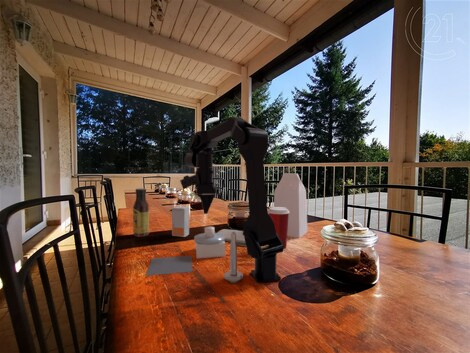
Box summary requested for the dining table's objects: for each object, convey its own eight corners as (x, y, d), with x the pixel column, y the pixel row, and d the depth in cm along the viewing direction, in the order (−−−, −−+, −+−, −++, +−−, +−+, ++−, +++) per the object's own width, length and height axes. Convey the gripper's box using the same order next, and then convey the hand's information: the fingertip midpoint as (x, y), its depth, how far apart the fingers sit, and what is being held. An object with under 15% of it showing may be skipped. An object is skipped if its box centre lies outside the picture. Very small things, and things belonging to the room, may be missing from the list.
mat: (192, 274, 67) (192, 271, 67) (145, 278, 64) (145, 275, 64) (191, 258, 78) (191, 255, 78) (152, 261, 76) (152, 258, 76)
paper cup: (288, 243, 93) (288, 206, 92) (290, 250, 85) (290, 210, 84) (267, 243, 93) (267, 206, 93) (267, 250, 86) (267, 210, 85)
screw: (243, 288, 59) (223, 288, 59) (243, 278, 64) (224, 278, 64) (243, 234, 59) (223, 234, 59) (242, 229, 64) (224, 229, 64)
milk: (307, 231, 110) (308, 173, 109) (299, 238, 100) (300, 174, 99) (282, 228, 116) (282, 172, 115) (272, 233, 107) (272, 173, 105)
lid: (227, 243, 77) (227, 230, 77) (194, 245, 75) (194, 232, 75) (222, 234, 87) (222, 223, 87) (193, 236, 85) (193, 224, 85)
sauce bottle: (133, 234, 106) (132, 188, 105) (148, 232, 108) (147, 187, 107) (133, 238, 100) (132, 189, 99) (150, 236, 102) (149, 188, 101)
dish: (225, 258, 78) (225, 243, 78) (196, 260, 76) (196, 244, 76) (221, 249, 87) (221, 235, 87) (195, 250, 85) (195, 236, 85)
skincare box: (171, 236, 103) (171, 207, 102) (176, 233, 107) (176, 206, 107) (184, 237, 101) (184, 208, 101) (189, 234, 105) (189, 206, 105)
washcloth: (250, 248, 89) (250, 240, 89) (206, 242, 96) (206, 234, 96) (260, 239, 100) (260, 232, 100) (220, 234, 107) (220, 227, 107)
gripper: (181, 167, 95) (182, 207, 96) (180, 168, 77) (181, 217, 78) (210, 167, 98) (210, 206, 98) (216, 168, 79) (216, 216, 80)
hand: (204, 211), depth 89 cm, fingers open, 9 cm apart
